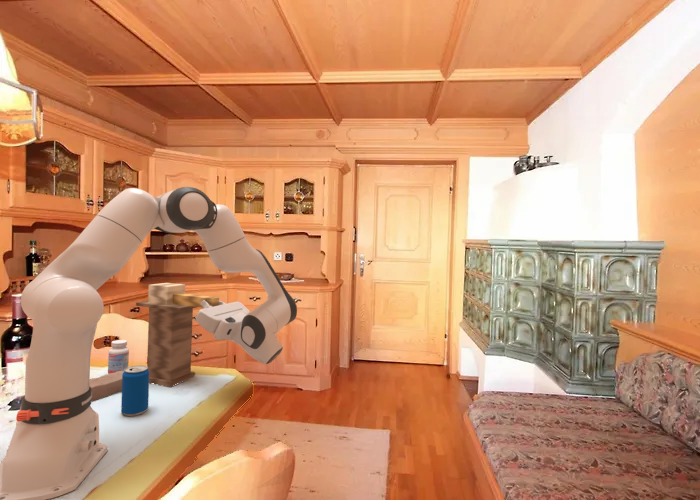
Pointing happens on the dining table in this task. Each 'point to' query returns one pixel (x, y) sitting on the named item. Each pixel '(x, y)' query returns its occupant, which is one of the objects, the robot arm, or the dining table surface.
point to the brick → (106, 385)
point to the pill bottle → (118, 356)
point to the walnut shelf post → (169, 343)
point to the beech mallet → (177, 295)
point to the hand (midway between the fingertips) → (207, 300)
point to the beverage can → (135, 390)
